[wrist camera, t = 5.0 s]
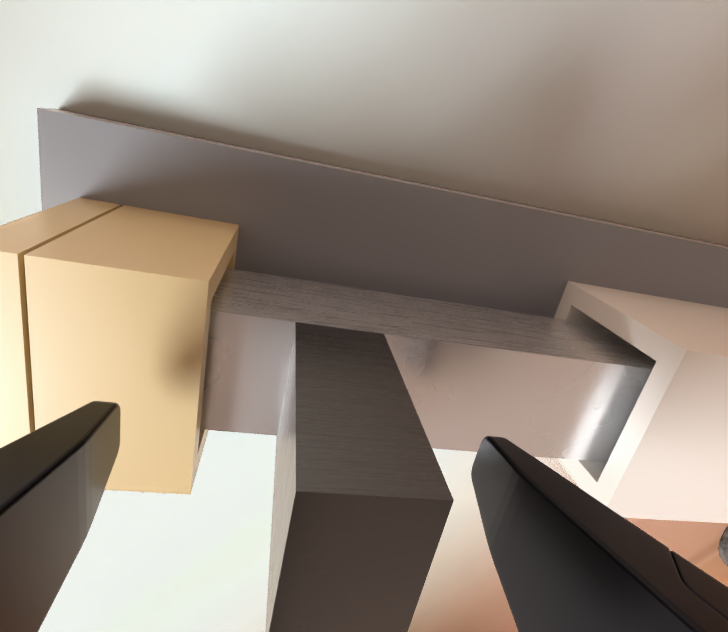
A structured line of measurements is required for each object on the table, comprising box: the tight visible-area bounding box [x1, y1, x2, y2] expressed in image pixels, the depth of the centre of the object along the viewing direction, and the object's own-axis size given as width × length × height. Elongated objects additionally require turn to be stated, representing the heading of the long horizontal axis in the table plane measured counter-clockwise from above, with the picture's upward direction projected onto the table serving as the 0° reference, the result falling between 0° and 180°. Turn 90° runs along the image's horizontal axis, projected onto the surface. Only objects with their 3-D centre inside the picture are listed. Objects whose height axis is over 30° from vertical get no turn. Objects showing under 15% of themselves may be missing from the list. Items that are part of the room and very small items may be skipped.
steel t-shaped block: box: [200, 268, 656, 632], centre depth 10 cm, size 3×17×8 cm, turn 78°
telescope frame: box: [0, 108, 728, 523], centre depth 14 cm, size 9×29×6 cm, turn 78°
